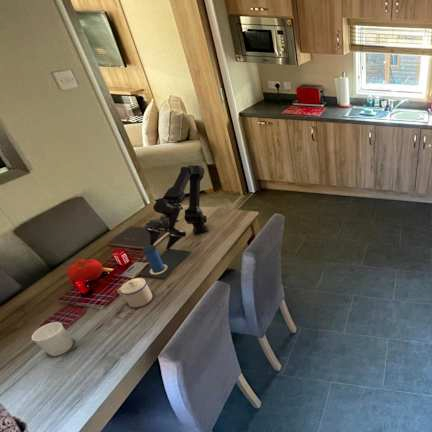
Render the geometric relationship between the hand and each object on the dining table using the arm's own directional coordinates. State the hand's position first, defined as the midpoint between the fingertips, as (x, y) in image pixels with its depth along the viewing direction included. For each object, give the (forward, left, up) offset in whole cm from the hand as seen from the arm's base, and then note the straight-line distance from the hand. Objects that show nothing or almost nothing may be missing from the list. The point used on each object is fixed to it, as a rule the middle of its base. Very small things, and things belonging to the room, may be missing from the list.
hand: (159, 247), depth 149 cm
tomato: (-8, -30, -11) cm, 33 cm away
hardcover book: (-30, -9, -11) cm, 33 cm away
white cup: (+31, -37, -11) cm, 50 cm away
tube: (+3, -4, -10) cm, 11 cm away
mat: (-1, 0, -11) cm, 11 cm away
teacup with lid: (+19, -13, -11) cm, 26 cm away
